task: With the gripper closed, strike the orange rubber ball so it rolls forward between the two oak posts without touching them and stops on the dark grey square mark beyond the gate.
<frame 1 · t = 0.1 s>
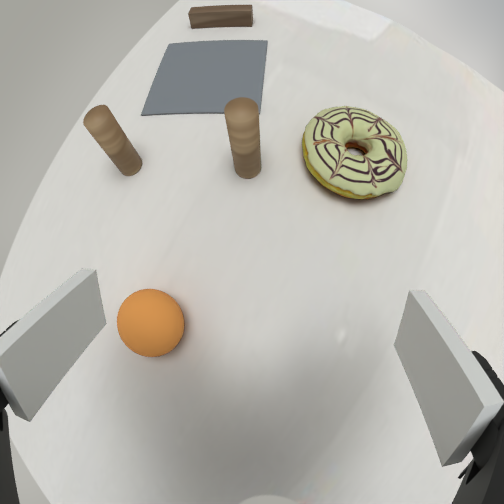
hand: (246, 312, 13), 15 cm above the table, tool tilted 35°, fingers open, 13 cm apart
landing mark: (208, 72, 35), on the table
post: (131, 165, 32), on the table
stopper wall: (222, 23, 38), on the table
decorated donut: (351, 161, 32), on the table
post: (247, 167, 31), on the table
ball: (150, 323, 25), on the table
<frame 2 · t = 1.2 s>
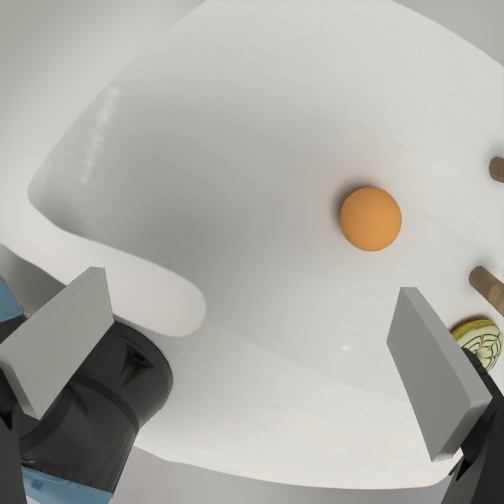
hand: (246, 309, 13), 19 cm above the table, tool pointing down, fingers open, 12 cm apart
decorated donut: (462, 347, 35), on the table
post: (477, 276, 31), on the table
ball: (370, 219, 27), on the table
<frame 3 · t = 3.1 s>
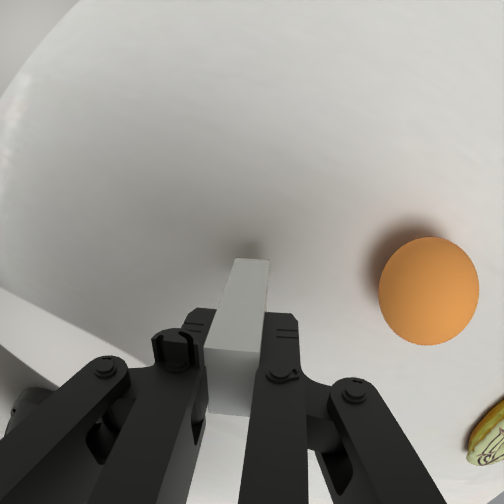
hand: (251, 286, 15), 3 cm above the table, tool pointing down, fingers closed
decorated donut: (501, 417, 23), on the table
ball: (429, 291, 15), on the table
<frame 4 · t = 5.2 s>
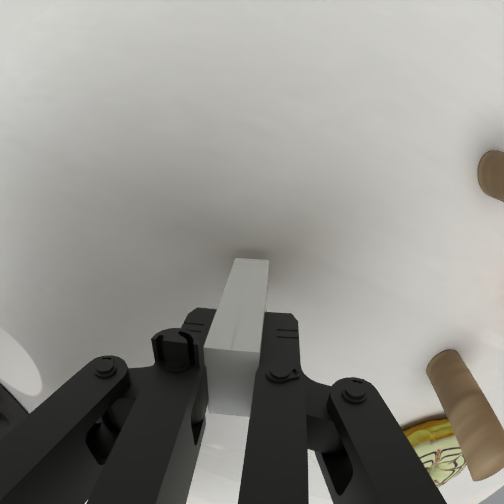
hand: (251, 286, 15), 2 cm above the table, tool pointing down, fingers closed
decorated donut: (415, 447, 22), on the table
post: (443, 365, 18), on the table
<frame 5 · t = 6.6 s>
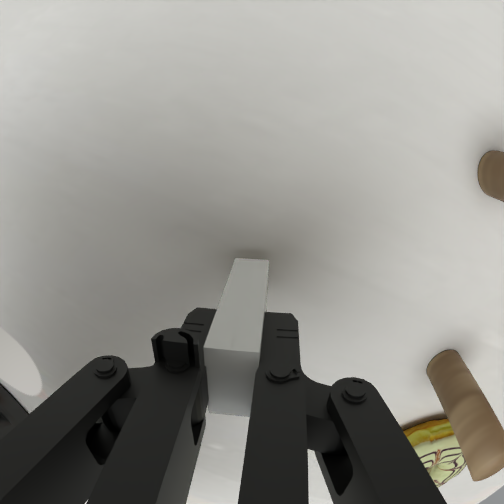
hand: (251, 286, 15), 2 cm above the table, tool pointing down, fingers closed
decorated donut: (415, 447, 22), on the table
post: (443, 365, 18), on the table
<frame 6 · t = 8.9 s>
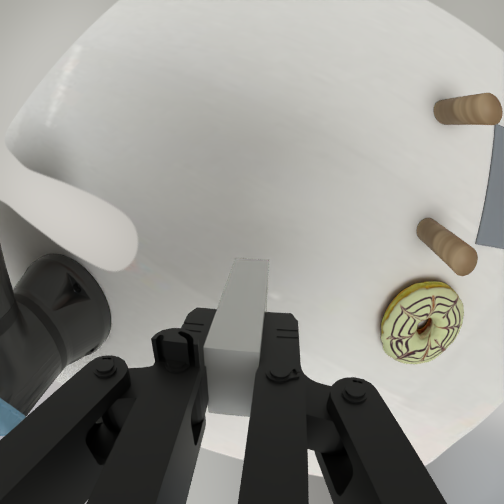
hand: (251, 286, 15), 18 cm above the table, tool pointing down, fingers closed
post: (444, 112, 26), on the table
decorated donut: (416, 315, 34), on the table
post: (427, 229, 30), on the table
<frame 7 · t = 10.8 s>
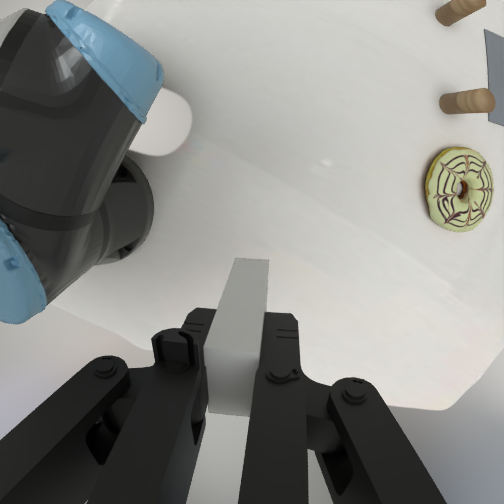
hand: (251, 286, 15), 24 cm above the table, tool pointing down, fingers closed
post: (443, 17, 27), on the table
decorated donut: (452, 186, 35), on the table
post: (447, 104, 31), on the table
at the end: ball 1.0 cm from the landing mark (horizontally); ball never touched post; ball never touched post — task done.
